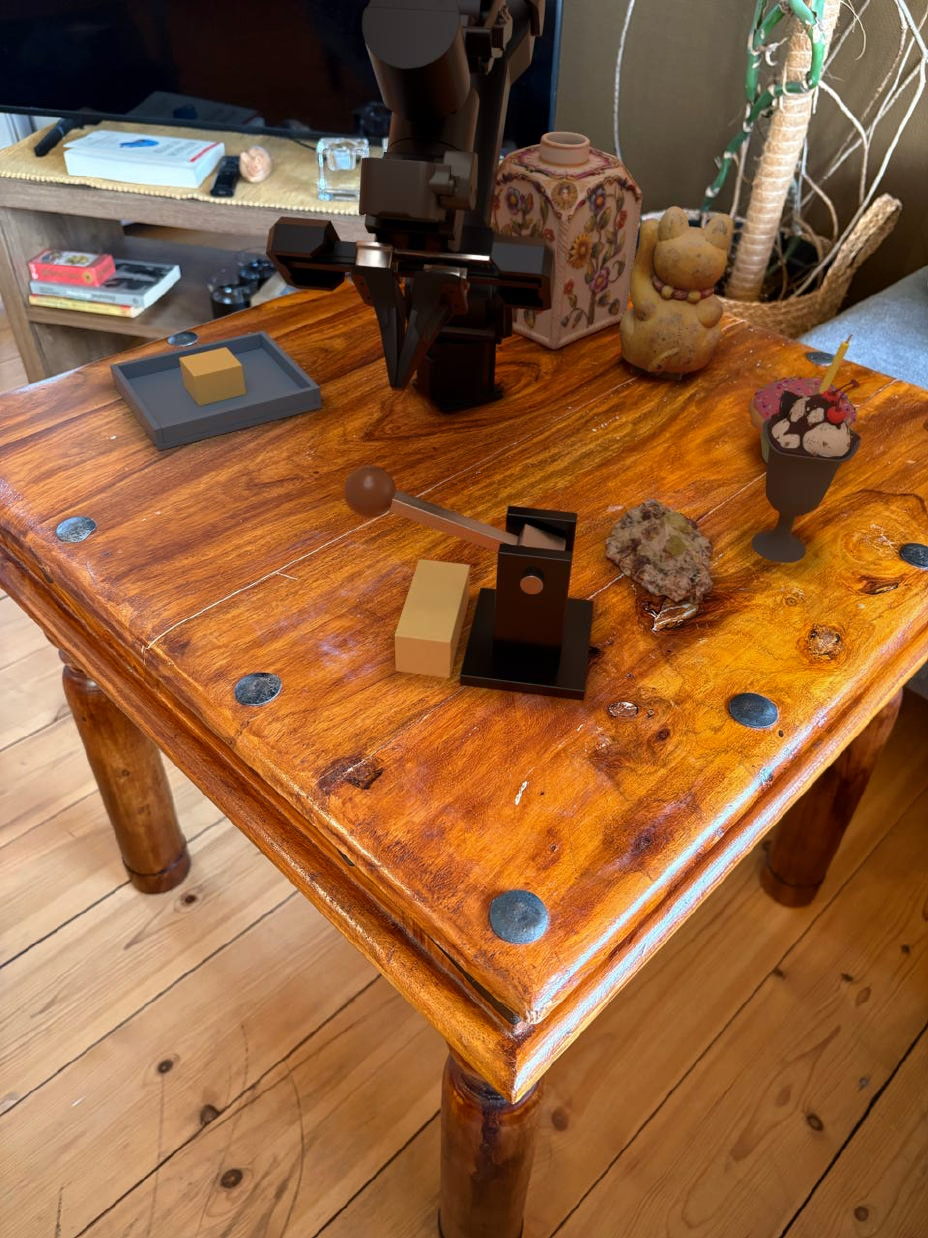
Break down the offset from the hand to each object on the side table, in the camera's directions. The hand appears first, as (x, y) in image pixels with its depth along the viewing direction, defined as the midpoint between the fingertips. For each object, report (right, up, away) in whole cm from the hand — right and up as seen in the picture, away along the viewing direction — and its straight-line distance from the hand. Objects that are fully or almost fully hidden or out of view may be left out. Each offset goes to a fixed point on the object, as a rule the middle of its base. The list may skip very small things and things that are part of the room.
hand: (396, 389), depth 66 cm
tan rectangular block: (+2, -17, +2) cm, 17 cm away
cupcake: (+32, -2, +20) cm, 38 cm away
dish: (-18, +5, +26) cm, 32 cm away
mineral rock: (+19, -11, +9) cm, 24 cm away
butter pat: (-18, +6, +25) cm, 32 cm away
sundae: (+28, -10, +10) cm, 32 cm away
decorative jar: (+14, +17, +40) cm, 46 cm away
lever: (+3, -10, -4) cm, 12 cm away
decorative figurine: (+24, +9, +32) cm, 41 cm away
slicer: (+9, -17, +1) cm, 19 cm away
